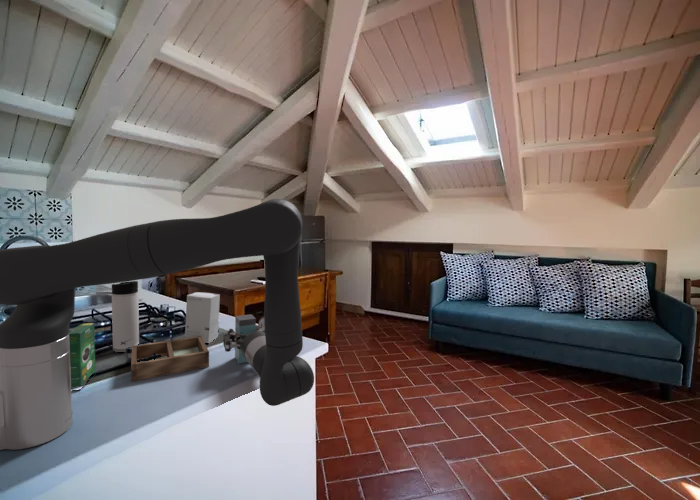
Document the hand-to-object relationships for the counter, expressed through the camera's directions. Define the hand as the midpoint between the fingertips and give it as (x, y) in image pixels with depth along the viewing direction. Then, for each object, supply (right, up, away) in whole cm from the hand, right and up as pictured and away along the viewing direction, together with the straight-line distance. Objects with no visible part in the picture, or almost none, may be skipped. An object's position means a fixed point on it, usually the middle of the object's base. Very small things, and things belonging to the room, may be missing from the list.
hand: (243, 330), depth 92 cm
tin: (+7, -7, +12) cm, 15 cm away
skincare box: (-17, -6, +11) cm, 21 cm away
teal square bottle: (+1, -8, -1) cm, 8 cm away
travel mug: (-35, -6, +2) cm, 35 cm away
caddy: (-17, -7, -6) cm, 20 cm away
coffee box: (-32, -8, -17) cm, 37 cm away
